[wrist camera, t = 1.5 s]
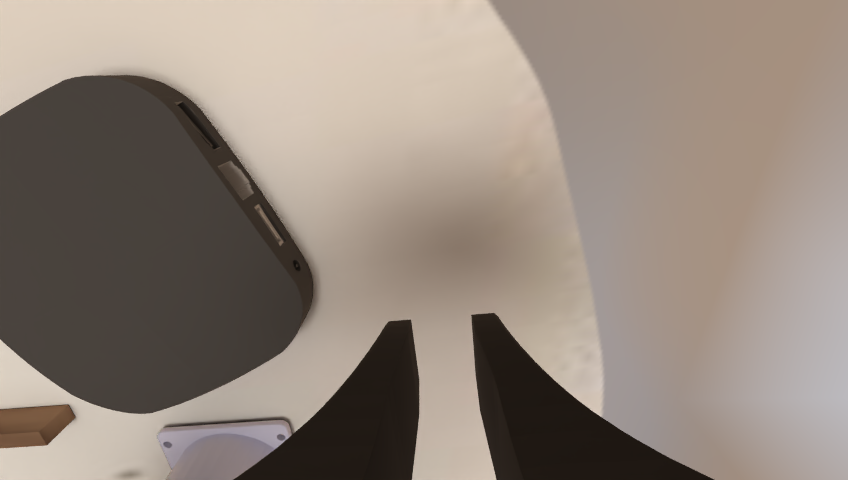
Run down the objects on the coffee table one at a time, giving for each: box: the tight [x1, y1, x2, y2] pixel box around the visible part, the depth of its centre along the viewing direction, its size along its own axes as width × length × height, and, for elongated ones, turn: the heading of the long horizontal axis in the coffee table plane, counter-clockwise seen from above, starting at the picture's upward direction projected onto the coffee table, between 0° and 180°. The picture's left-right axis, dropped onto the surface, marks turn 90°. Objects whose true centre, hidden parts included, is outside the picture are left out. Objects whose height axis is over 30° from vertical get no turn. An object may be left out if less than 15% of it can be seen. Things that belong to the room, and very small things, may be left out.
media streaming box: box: [0, 75, 313, 414], centre depth 20 cm, size 15×15×3 cm
